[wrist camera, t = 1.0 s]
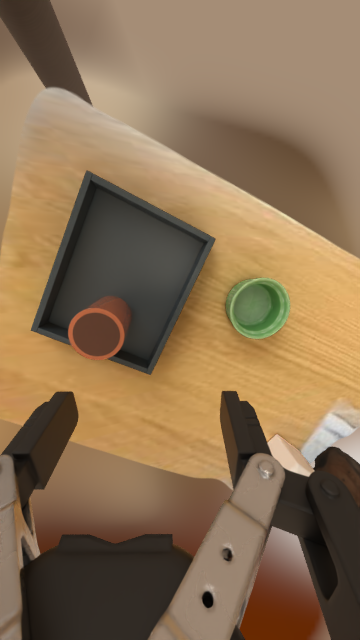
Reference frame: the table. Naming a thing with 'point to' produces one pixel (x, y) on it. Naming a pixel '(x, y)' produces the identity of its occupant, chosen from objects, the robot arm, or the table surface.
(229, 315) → the ramekin
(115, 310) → the cup
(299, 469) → the medicine bottle
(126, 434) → the table surface
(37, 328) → the tray
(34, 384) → the table surface
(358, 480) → the brown carved rock
